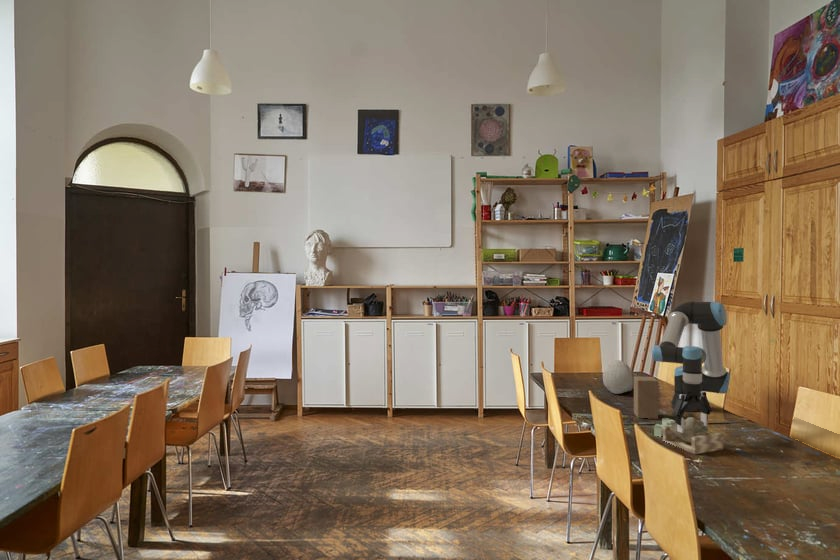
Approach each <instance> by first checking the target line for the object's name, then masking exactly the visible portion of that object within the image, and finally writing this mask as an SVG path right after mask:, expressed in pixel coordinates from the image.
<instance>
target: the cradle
mask: <svg viewBox="0 0 840 560" xmlns="http://www.w3.org/2000/svg"><path fill="white" fill-rule="evenodd" d="M670 426H671V425H668V426H663V437H662V442H663V441H665V442H664V443H666V442H667V443H666V444H668V443H670V444H669V445H671V444H672V445H671V446H673V445H674V447H676V446H677V447H676V448H678V447H679V449H681V448H682V449H681V450H683V449H684V450H683V451H686V452H688V453H691V454H694V455H699V454H703V453H709V452H710V453H711V452H715V451H721V450H724V433H723V432H713V433H708V434H707V435H701V436H694V437H692V443H690V442H687V441H684V440H682V439H680V438H679V437H678V436H676V435H675V434H673V433H672V432H671V430H670Z"/></svg>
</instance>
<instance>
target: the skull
mask: <svg viewBox="0 0 840 560" xmlns="http://www.w3.org/2000/svg"><path fill="white" fill-rule="evenodd" d="M632 373H633V372H632V370H631V368H630V366H629V365H628V364H627V363H626V362H624V361H623V360H615V361H611V362H610V363H609V364H608V365H607V366H606V367H605V368H604V370H603V372H602V383H603V385H604V387H606V388H607V390H608V391H610V392H611V393H612V394H615V395H618V394H619V395H621V394H623V393H627V392H631V391H632V389H633V387H634V381H633V379H634V376H633V374H632Z"/></svg>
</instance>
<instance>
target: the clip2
mask: <svg viewBox="0 0 840 560" xmlns="http://www.w3.org/2000/svg"><path fill="white" fill-rule="evenodd" d="M663 426H666V425H662V424H659V423H655V424H654V426H653V431H654V433H653V434H654V437H657V436H659V437H658V438H663V437H662V435H663Z"/></svg>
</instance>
